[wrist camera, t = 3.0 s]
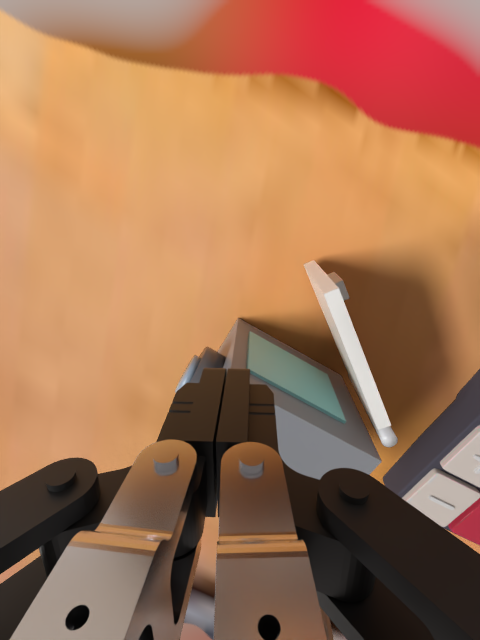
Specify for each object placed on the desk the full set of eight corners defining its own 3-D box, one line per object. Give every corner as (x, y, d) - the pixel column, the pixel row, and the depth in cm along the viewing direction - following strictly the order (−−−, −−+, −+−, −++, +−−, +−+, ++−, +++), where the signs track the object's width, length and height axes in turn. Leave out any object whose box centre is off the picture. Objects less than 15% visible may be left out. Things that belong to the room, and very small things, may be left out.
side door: (363, 359, 27) (403, 421, 20) (344, 366, 28) (377, 430, 20) (323, 256, 25) (352, 282, 17) (303, 264, 25) (323, 294, 18)
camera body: (358, 367, 29) (413, 460, 19) (302, 437, 31) (324, 553, 21) (226, 292, 27) (208, 350, 17) (179, 373, 30) (139, 465, 20)
